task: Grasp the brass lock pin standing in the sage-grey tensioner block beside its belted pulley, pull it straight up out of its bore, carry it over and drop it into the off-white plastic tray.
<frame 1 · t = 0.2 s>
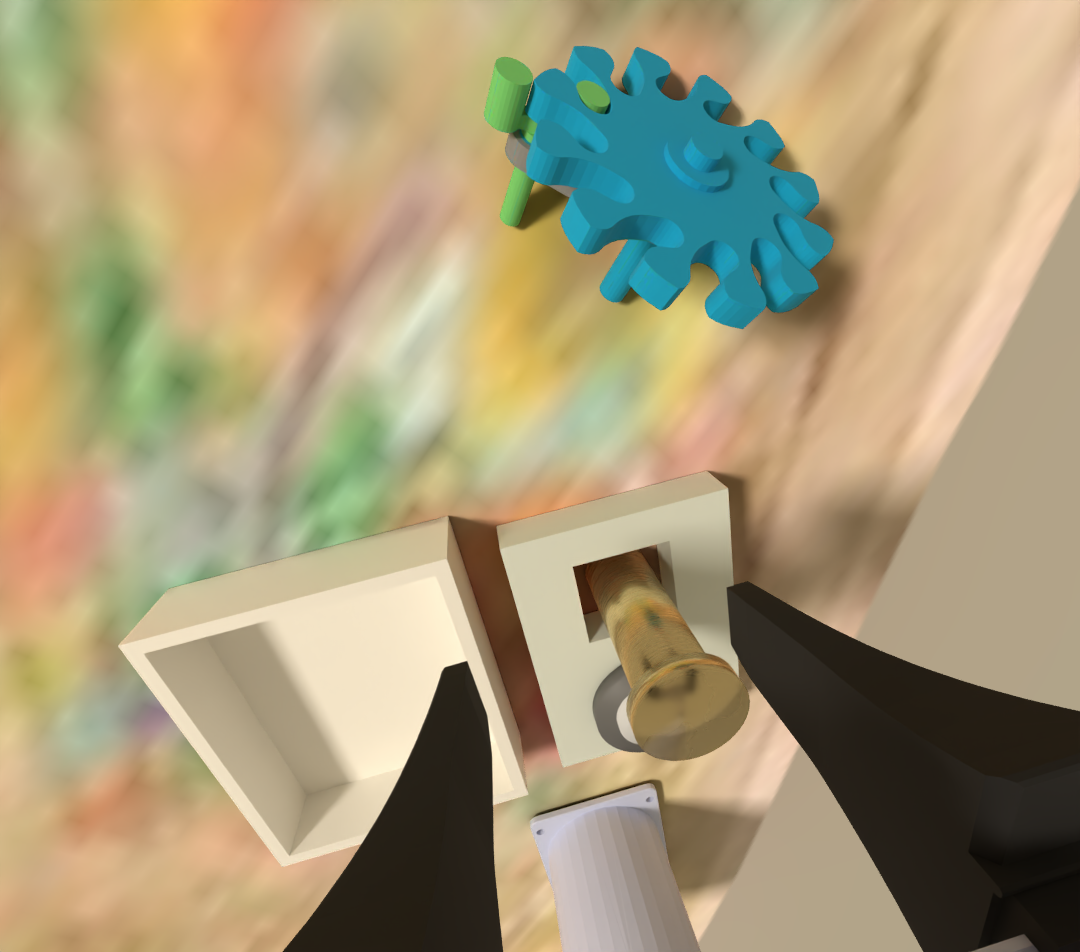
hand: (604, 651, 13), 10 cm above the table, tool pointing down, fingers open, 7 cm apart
tensioner block: (615, 569, 24), on the table
tray: (367, 670, 25), on the table
lock pin: (615, 568, 24), resting in tensioner block
gear: (627, 190, 18), on the table
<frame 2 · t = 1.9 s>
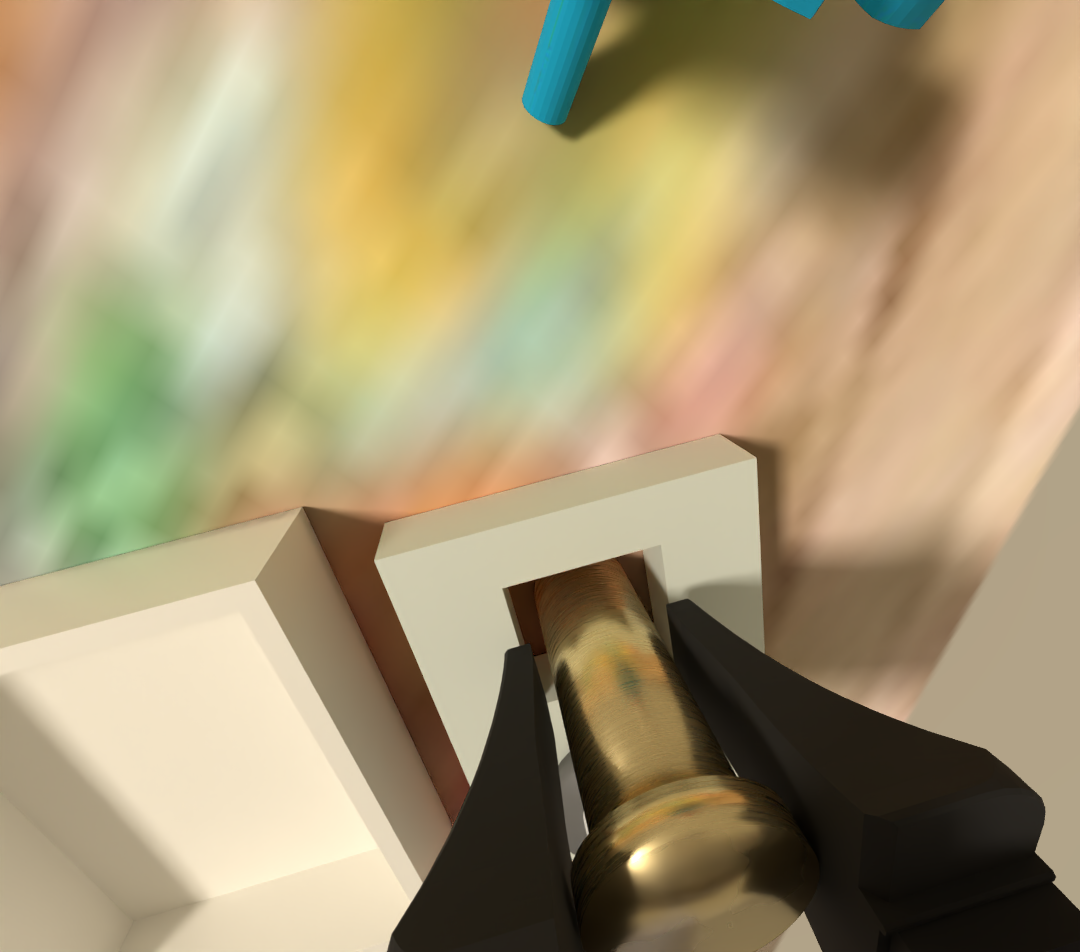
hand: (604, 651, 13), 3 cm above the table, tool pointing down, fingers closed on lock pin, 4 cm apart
tensioner block: (580, 588, 16), on the table
tray: (205, 745, 16), on the table
lock pin: (580, 587, 16), resting in tensioner block, touching gripper
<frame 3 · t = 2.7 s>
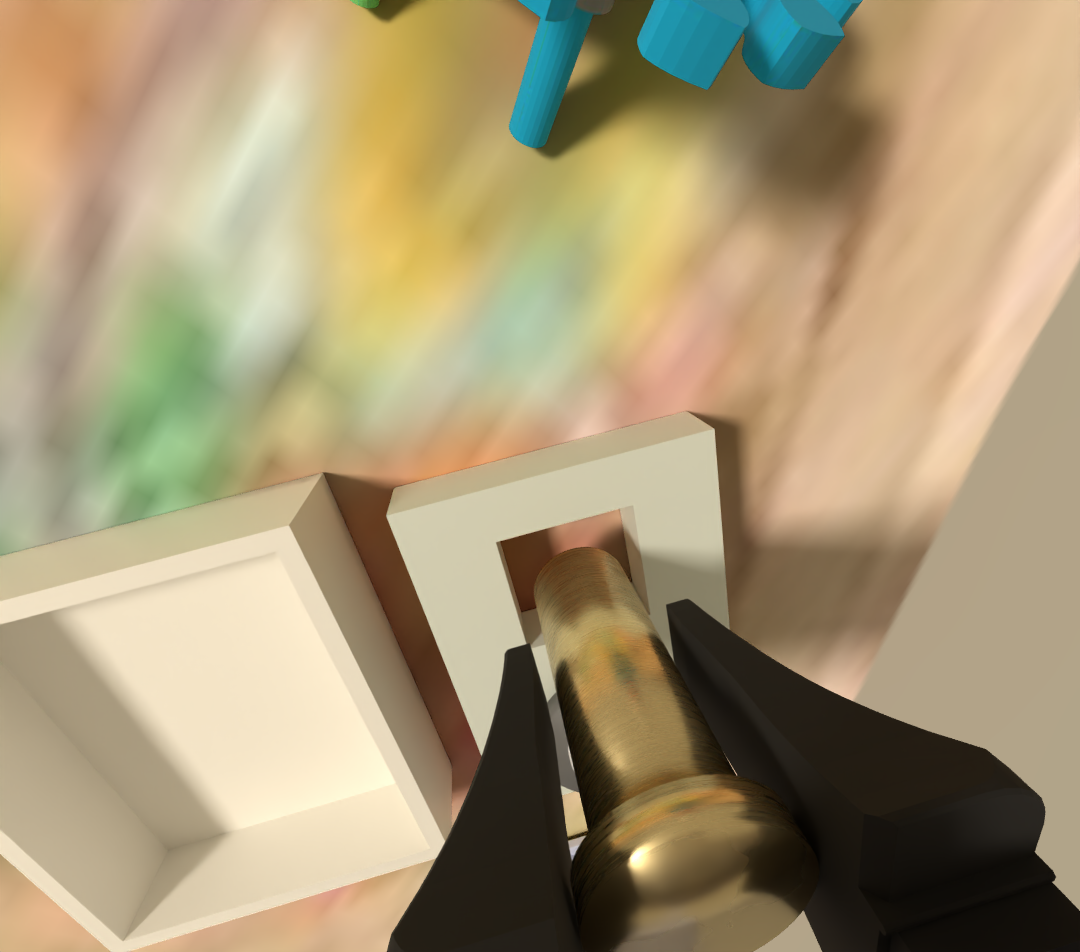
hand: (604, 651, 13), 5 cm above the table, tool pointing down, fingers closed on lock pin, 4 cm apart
tensioner block: (565, 549, 18), on the table
tray: (234, 687, 18), on the table
lock pin: (579, 587, 16), point 2 cm above the table, touching gripper
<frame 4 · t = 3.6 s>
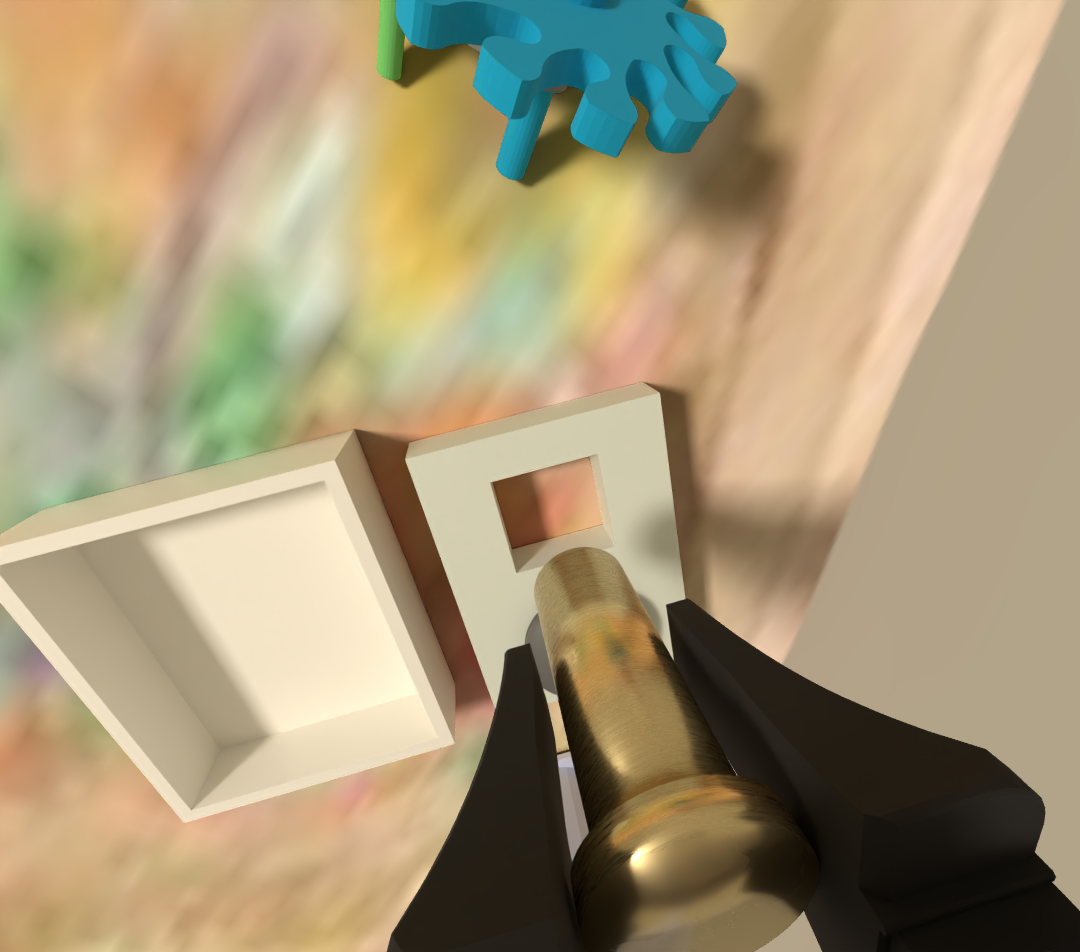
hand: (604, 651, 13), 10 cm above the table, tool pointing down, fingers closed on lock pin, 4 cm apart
tensioner block: (547, 495, 22), on the table
tray: (278, 609, 23), on the table
lock pin: (580, 587, 16), point 7 cm above the table, touching gripper
gear: (526, 51, 16), on the table
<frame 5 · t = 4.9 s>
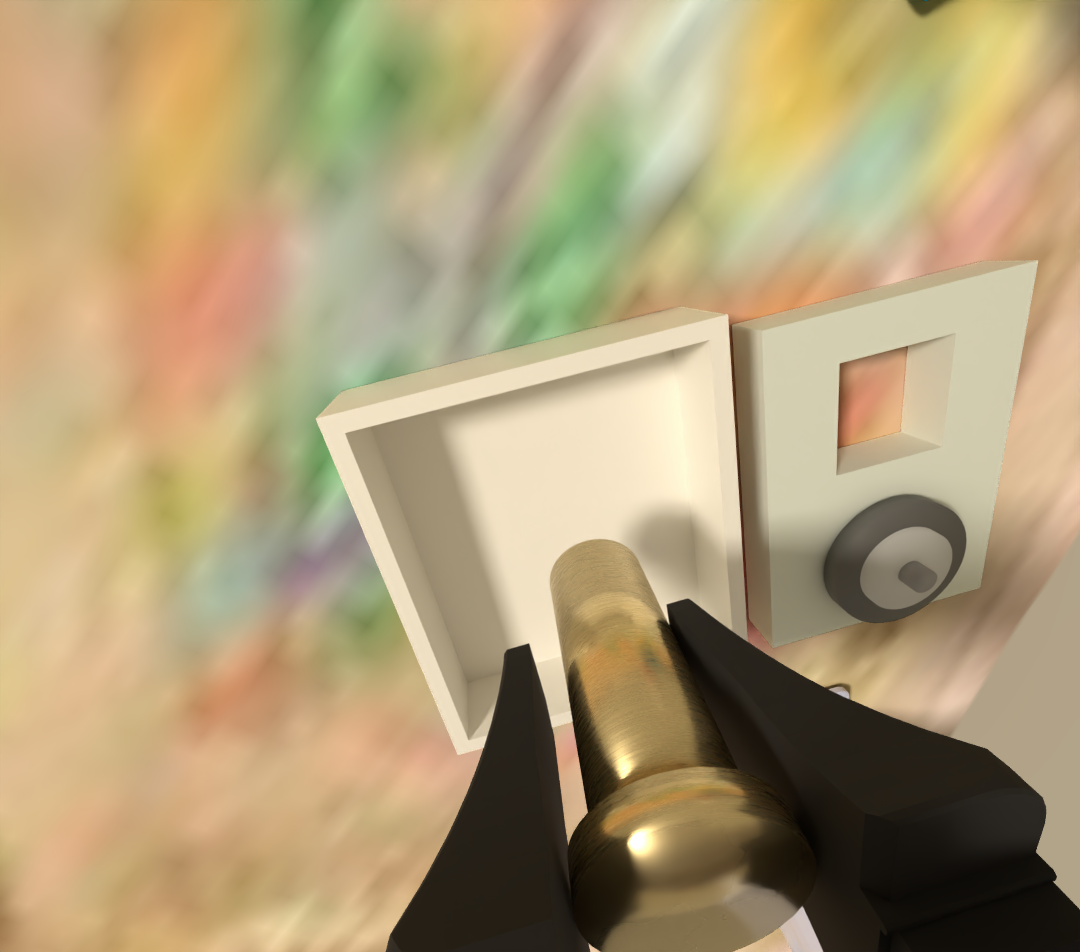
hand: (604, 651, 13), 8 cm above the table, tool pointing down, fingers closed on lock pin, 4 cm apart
tensioner block: (854, 394, 20), on the table
tray: (554, 520, 20), on the table
lock pin: (595, 579, 16), point 5 cm above the table, touching gripper
when the fingers open (5 cm above the table, at t = 5.7 s): lock pin drops 1 cm, resting on tray.
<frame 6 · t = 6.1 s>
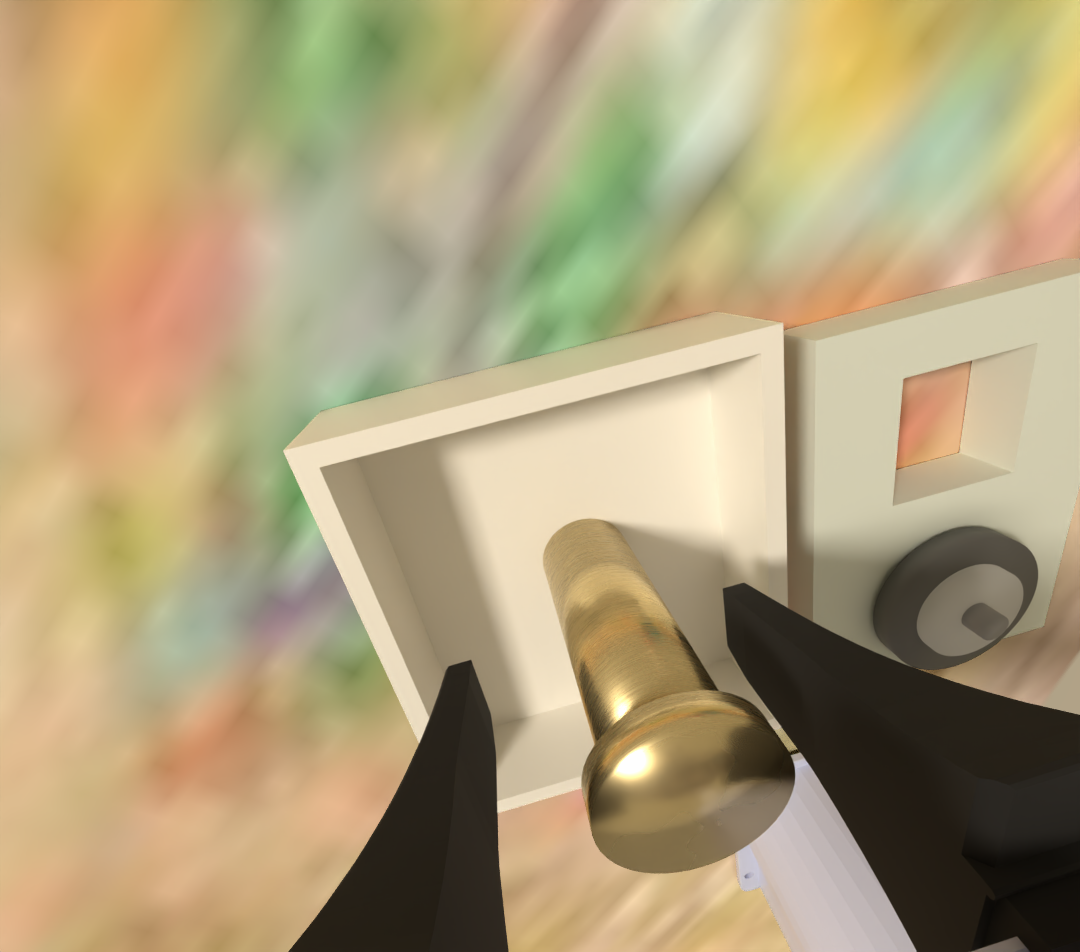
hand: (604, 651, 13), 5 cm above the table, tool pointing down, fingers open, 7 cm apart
tensioner block: (909, 411, 18), on the table
tray: (567, 555, 18), on the table
lock pin: (585, 556, 17), resting on tray
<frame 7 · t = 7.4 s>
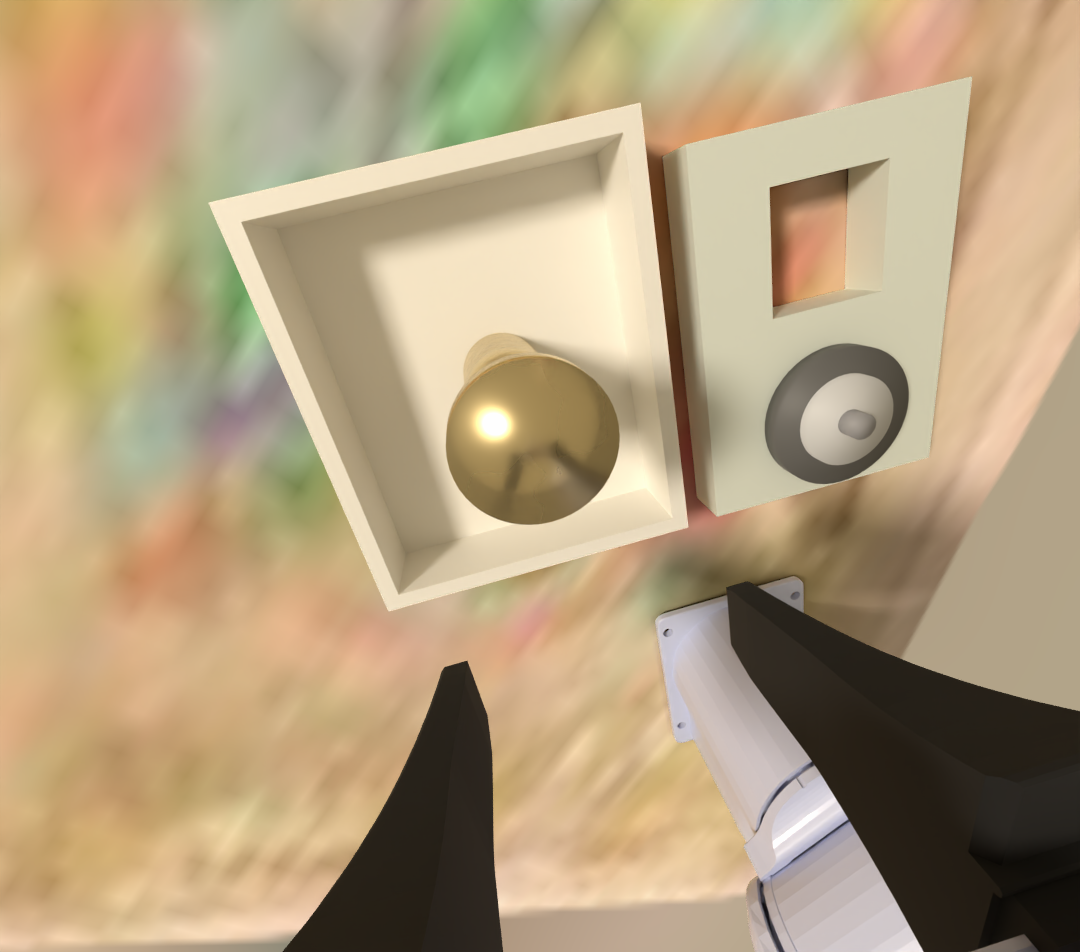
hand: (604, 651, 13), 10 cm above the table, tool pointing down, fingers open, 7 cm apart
tensioner block: (794, 244, 20), on the table
tray: (488, 375, 20), on the table
lock pin: (502, 372, 19), point 1 cm above the table, touching tray
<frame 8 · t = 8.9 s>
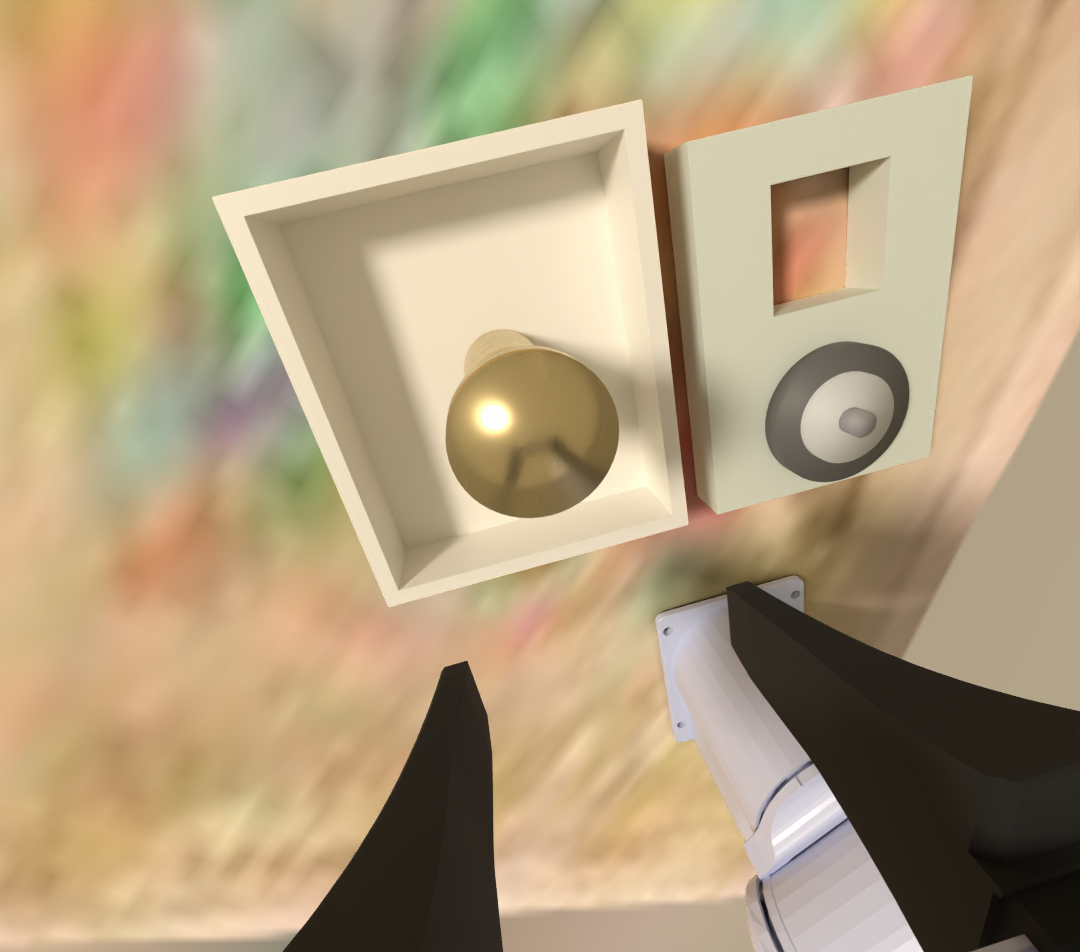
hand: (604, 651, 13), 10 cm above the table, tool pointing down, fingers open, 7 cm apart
tensioner block: (795, 242, 20), on the table
tray: (489, 372, 20), on the table
lock pin: (502, 368, 19), resting on tray
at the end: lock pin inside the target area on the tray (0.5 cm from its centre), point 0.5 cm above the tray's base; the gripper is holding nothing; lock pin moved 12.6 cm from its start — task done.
